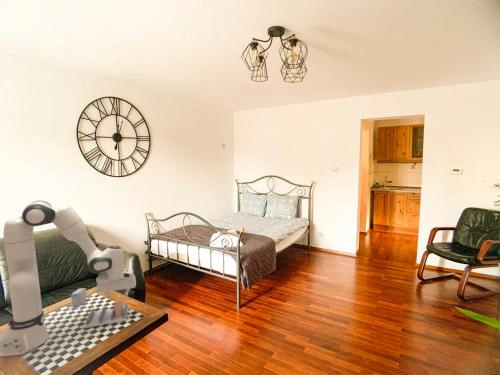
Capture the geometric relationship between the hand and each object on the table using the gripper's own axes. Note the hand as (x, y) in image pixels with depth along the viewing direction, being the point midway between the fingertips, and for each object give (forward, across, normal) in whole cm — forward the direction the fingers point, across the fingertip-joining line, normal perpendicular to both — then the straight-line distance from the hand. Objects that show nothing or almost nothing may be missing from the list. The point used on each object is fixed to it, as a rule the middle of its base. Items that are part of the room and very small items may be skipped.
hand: (117, 296), depth 155 cm
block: (+11, +1, 0) cm, 11 cm away
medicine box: (+12, -26, +23) cm, 37 cm away
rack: (+12, -5, 0) cm, 13 cm away
